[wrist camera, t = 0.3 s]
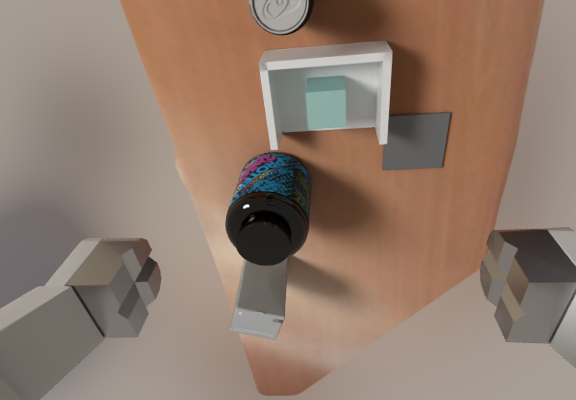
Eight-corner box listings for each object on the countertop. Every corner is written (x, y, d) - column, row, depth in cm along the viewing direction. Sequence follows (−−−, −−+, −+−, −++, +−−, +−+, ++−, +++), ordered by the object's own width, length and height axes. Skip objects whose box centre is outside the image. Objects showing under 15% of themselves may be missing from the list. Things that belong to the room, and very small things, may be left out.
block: (307, 77, 51) (305, 92, 46) (343, 75, 51) (345, 89, 46) (309, 112, 54) (308, 129, 49) (344, 109, 54) (345, 127, 49)
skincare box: (242, 265, 75) (225, 333, 62) (249, 240, 71) (232, 308, 58) (283, 275, 75) (274, 344, 63) (292, 251, 71) (284, 320, 58)
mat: (385, 115, 54) (385, 116, 54) (449, 111, 53) (450, 113, 53) (382, 168, 59) (382, 170, 59) (441, 166, 58) (441, 167, 58)
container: (319, 200, 64) (318, 268, 51) (256, 215, 67) (239, 282, 54) (298, 141, 58) (290, 201, 44) (230, 160, 61) (203, 221, 47)
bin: (265, 50, 50) (258, 62, 45) (385, 40, 48) (392, 51, 43) (275, 131, 57) (270, 149, 52) (381, 125, 55) (387, 143, 50)
